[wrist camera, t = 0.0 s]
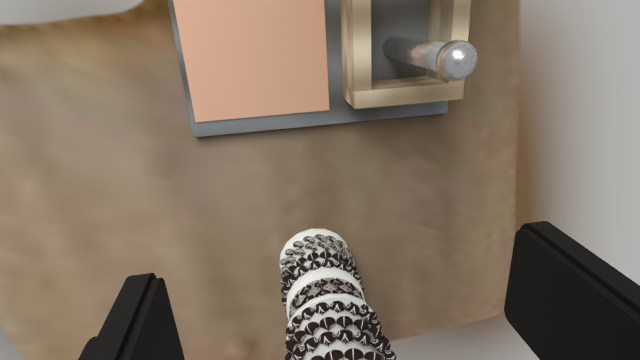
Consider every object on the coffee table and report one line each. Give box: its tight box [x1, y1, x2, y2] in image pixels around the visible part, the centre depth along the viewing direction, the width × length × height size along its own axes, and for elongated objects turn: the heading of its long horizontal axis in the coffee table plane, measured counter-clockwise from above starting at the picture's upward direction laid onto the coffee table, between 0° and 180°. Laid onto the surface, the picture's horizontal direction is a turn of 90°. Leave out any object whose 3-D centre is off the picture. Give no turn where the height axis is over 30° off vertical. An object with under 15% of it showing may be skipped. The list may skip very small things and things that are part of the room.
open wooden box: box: [340, 0, 471, 109], centre depth 34 cm, size 16×10×5 cm, turn 3°
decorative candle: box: [279, 229, 396, 360], centre depth 35 cm, size 9×9×25 cm
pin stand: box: [167, 0, 478, 137], centre depth 30 cm, size 21×26×16 cm
